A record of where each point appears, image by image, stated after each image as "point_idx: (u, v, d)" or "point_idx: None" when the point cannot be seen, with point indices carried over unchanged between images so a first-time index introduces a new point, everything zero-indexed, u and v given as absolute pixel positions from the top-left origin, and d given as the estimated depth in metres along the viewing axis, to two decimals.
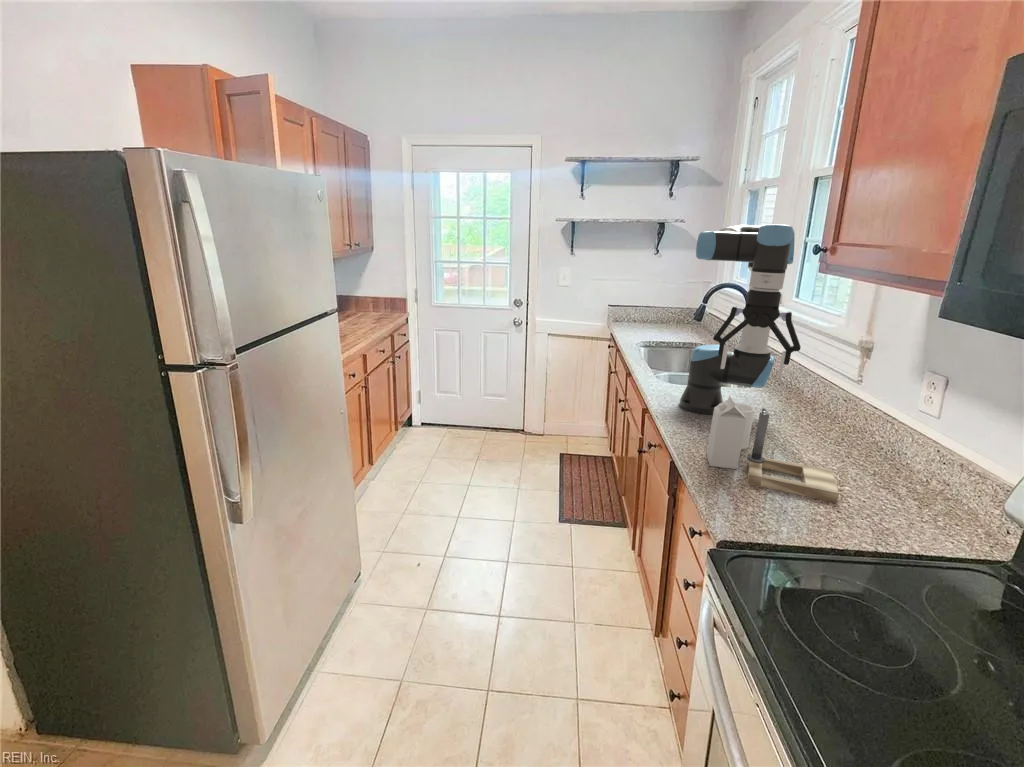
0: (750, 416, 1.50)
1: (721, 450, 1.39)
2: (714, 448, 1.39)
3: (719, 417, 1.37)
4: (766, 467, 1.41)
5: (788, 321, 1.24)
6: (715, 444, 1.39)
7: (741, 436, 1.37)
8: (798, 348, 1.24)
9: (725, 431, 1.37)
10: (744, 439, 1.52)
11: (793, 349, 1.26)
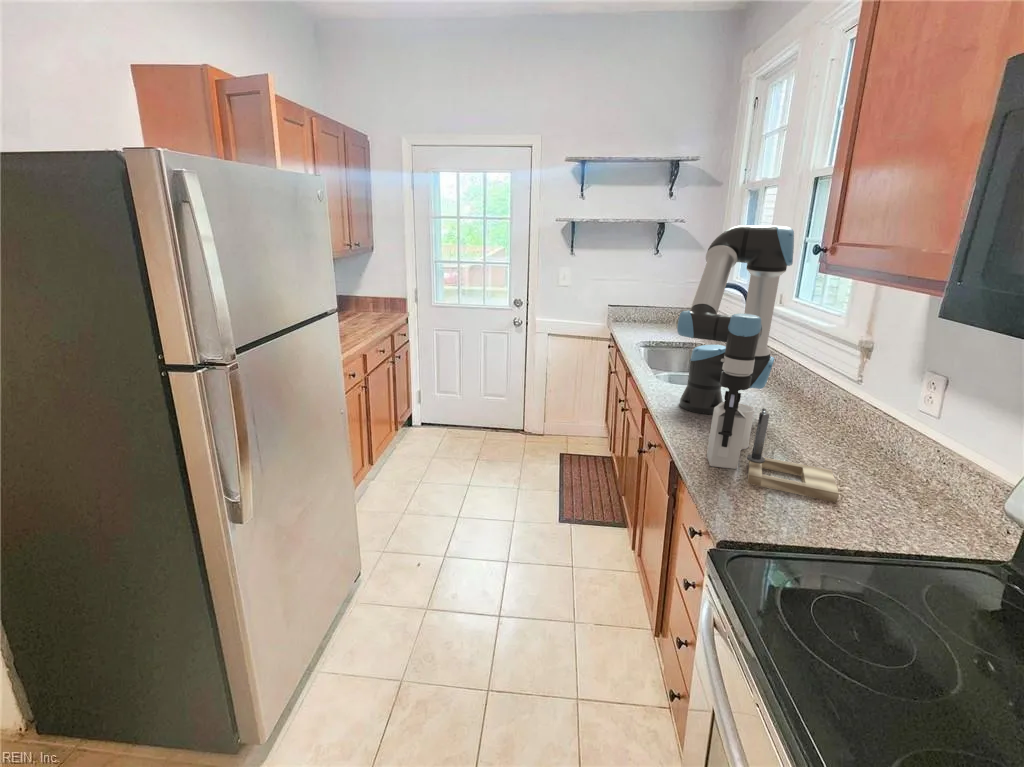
0: (750, 416, 1.50)
1: None
2: (714, 448, 1.39)
3: (719, 417, 1.37)
4: (766, 467, 1.41)
5: (726, 406, 1.34)
6: (715, 444, 1.39)
7: (741, 436, 1.37)
8: (721, 432, 1.34)
9: None
10: (744, 439, 1.52)
11: None
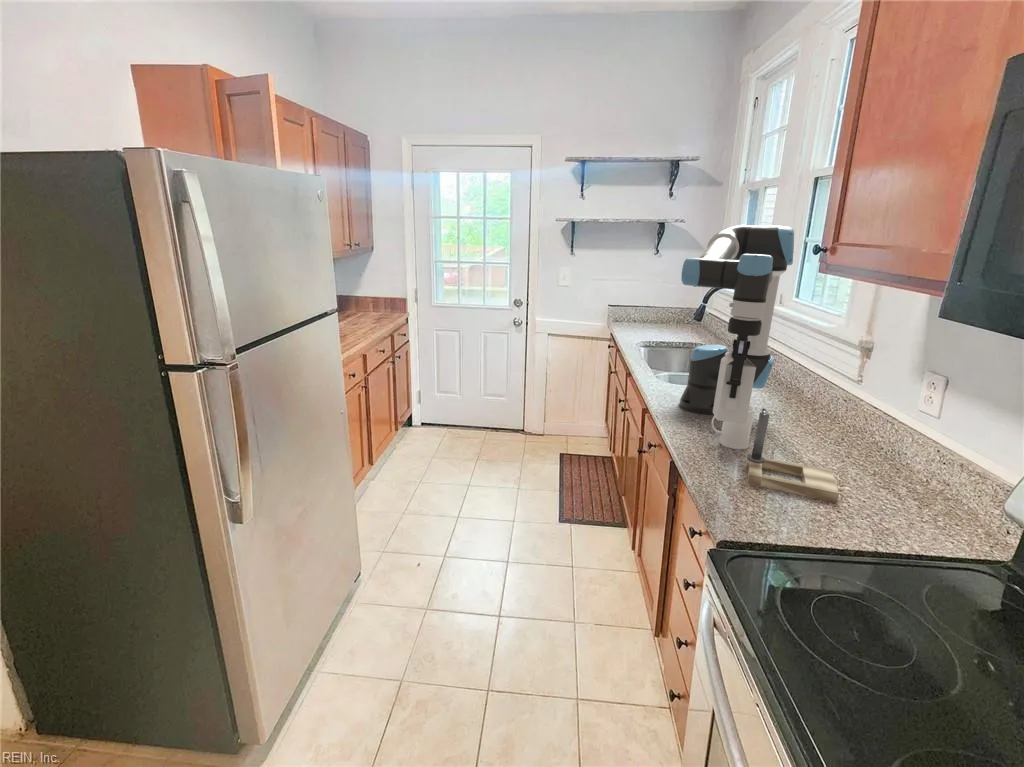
0: (750, 416, 1.50)
1: None
2: (721, 400, 1.30)
3: (727, 366, 1.27)
4: (766, 467, 1.41)
5: (734, 353, 1.24)
6: (722, 396, 1.29)
7: (750, 386, 1.27)
8: (729, 381, 1.25)
9: None
10: (744, 439, 1.52)
11: None
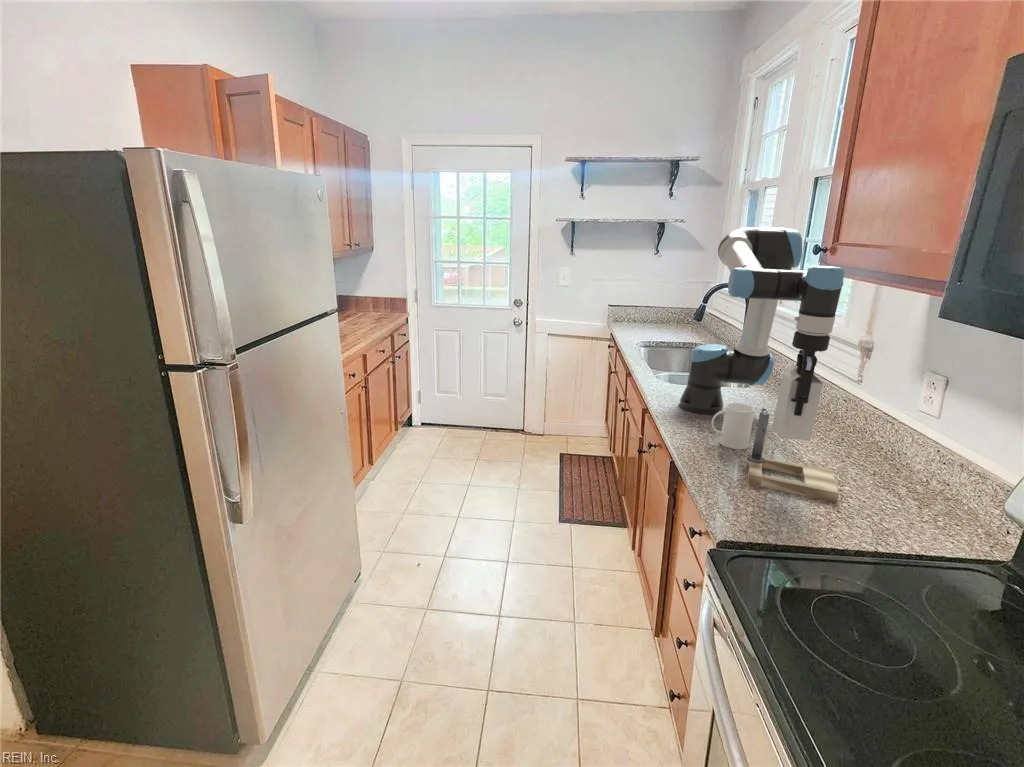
0: (750, 416, 1.50)
1: None
2: (785, 417, 1.25)
3: (792, 382, 1.22)
4: (766, 467, 1.41)
5: (801, 369, 1.19)
6: (786, 413, 1.25)
7: (816, 403, 1.23)
8: (795, 399, 1.20)
9: None
10: (744, 439, 1.52)
11: None
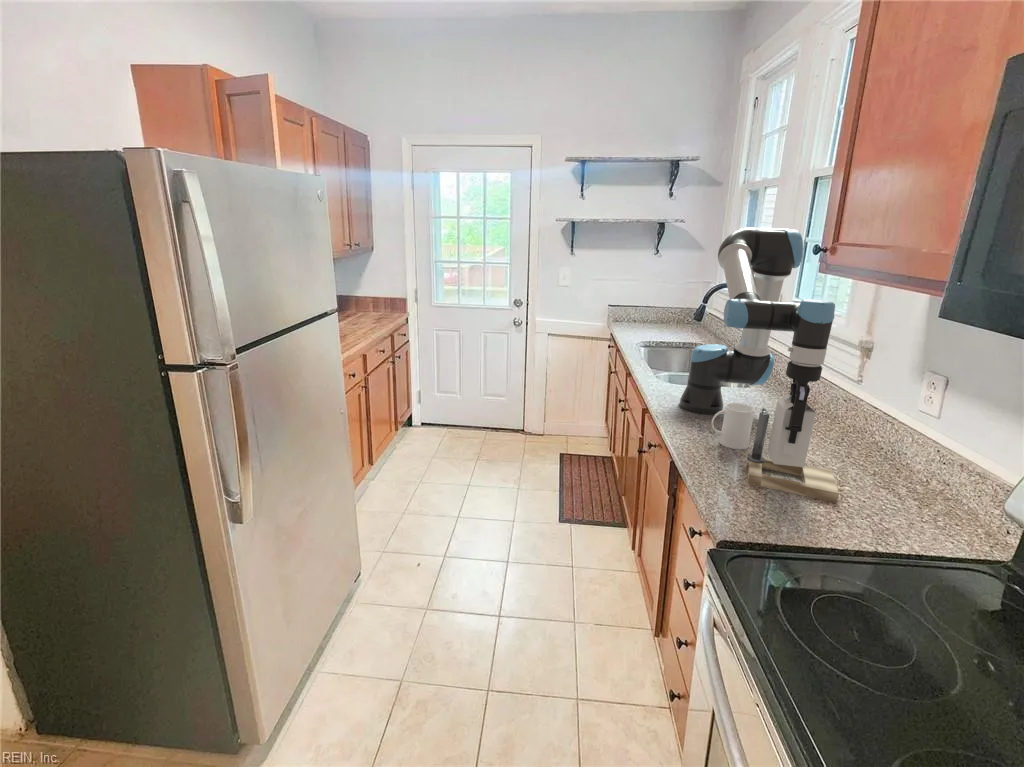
0: (750, 416, 1.50)
1: None
2: (779, 444, 1.29)
3: (786, 411, 1.26)
4: (766, 467, 1.41)
5: (795, 399, 1.23)
6: (780, 440, 1.29)
7: (810, 431, 1.27)
8: (789, 427, 1.24)
9: None
10: (744, 439, 1.52)
11: None
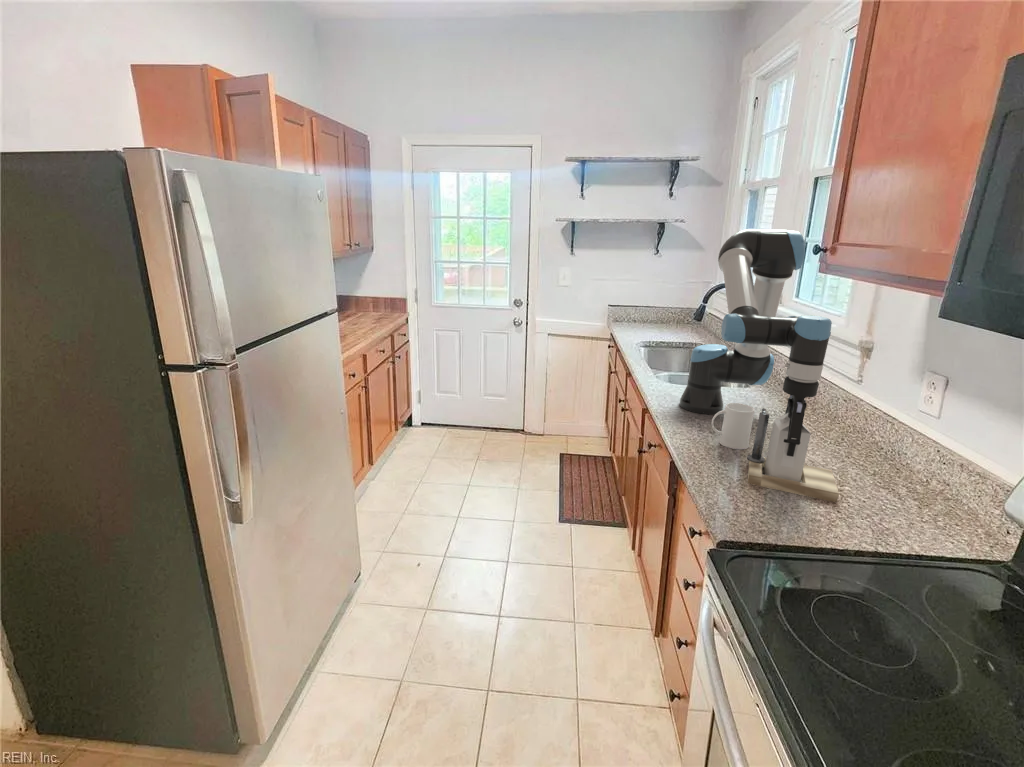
0: (750, 416, 1.50)
1: (782, 466, 1.31)
2: (774, 464, 1.31)
3: (781, 431, 1.28)
4: None
5: (792, 412, 1.24)
6: (775, 460, 1.31)
7: (804, 452, 1.28)
8: (788, 440, 1.23)
9: None
10: (744, 439, 1.52)
11: None
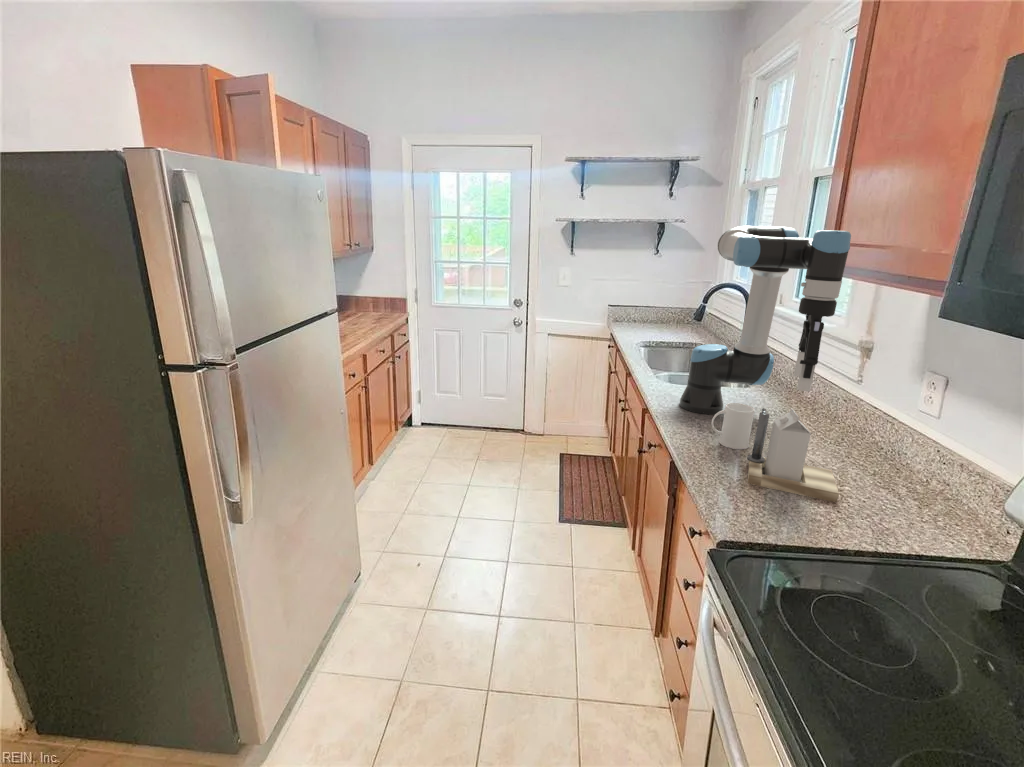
0: (750, 416, 1.50)
1: (782, 466, 1.31)
2: (774, 464, 1.31)
3: (781, 431, 1.28)
4: None
5: (809, 331, 1.18)
6: (775, 460, 1.31)
7: (804, 452, 1.28)
8: (804, 360, 1.17)
9: (787, 446, 1.29)
10: (744, 439, 1.52)
11: None
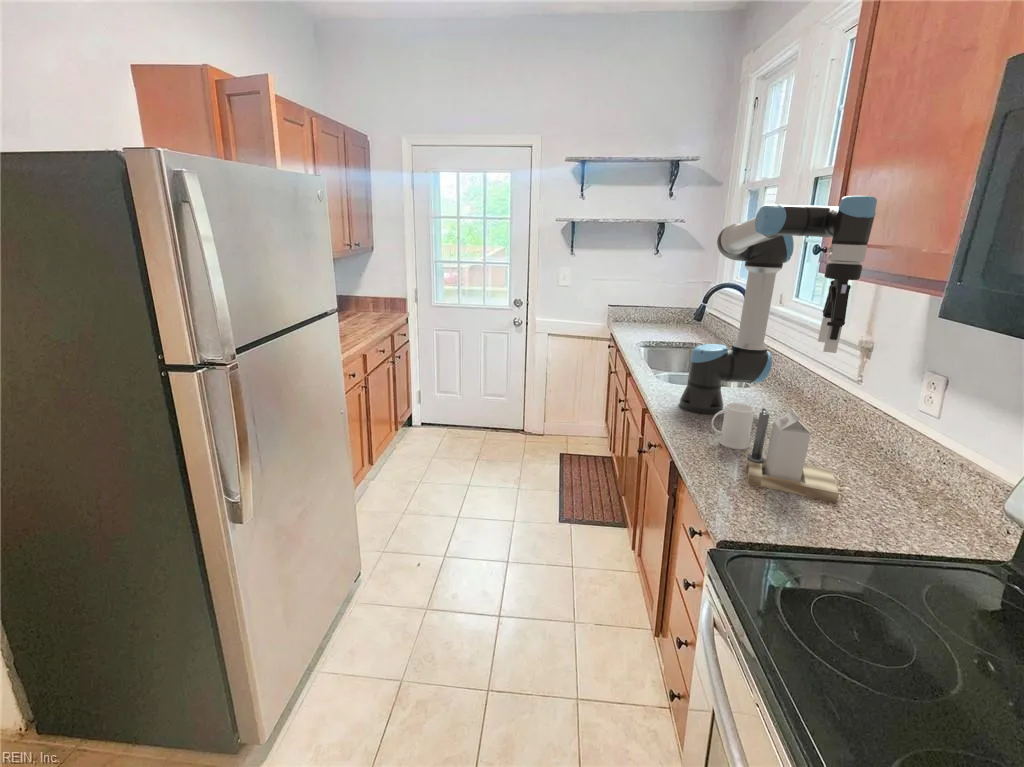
0: (750, 416, 1.50)
1: (782, 466, 1.31)
2: (774, 464, 1.31)
3: (781, 431, 1.28)
4: None
5: (836, 293, 1.22)
6: (775, 460, 1.31)
7: (804, 452, 1.28)
8: (832, 321, 1.21)
9: (787, 446, 1.29)
10: (744, 439, 1.52)
11: None
